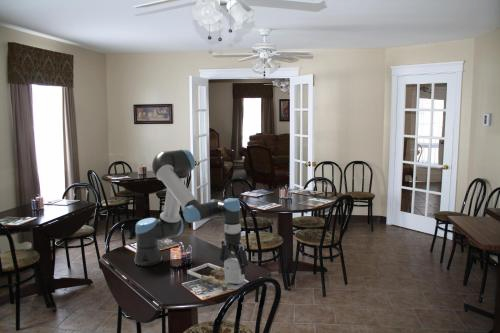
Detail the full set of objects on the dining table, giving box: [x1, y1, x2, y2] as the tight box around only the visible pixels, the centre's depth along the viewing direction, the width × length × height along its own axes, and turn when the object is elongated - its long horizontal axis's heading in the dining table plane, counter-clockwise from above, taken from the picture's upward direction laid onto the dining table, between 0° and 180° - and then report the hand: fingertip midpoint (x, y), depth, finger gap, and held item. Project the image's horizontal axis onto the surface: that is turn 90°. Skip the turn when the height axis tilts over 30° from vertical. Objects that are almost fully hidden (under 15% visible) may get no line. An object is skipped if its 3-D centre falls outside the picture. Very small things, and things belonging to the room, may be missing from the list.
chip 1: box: [210, 268, 222, 277], centre depth 215 cm, size 4×4×2 cm
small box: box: [223, 257, 244, 285], centre depth 204 cm, size 8×6×10 cm
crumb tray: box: [186, 262, 222, 280], centre depth 219 cm, size 11×14×3 cm
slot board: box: [201, 267, 226, 286], centre depth 211 cm, size 12×14×3 cm
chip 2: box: [215, 271, 225, 280], centre depth 211 cm, size 4×4×2 cm
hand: (234, 277), depth 204 cm, fingers closed on small box, 9 cm apart
